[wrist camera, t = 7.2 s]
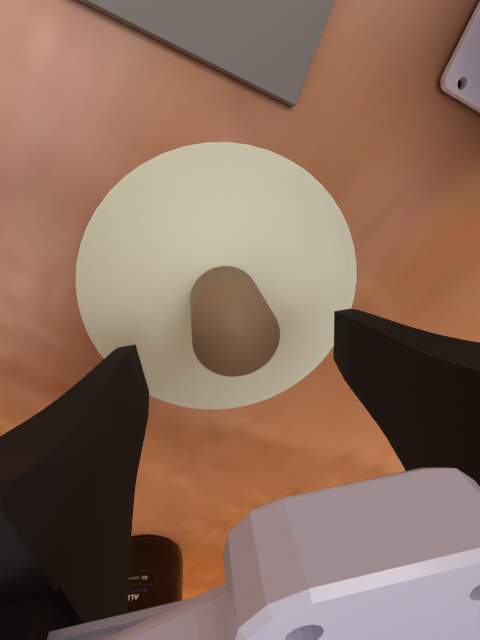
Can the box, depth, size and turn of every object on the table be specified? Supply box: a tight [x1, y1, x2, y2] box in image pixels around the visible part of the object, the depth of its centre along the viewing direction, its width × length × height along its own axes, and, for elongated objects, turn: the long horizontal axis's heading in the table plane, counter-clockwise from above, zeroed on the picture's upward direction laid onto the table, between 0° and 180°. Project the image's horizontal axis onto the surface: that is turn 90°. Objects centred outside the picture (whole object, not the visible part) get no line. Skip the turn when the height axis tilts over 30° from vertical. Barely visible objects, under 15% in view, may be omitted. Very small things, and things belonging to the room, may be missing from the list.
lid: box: [76, 142, 357, 410], centre depth 14 cm, size 13×13×5 cm
